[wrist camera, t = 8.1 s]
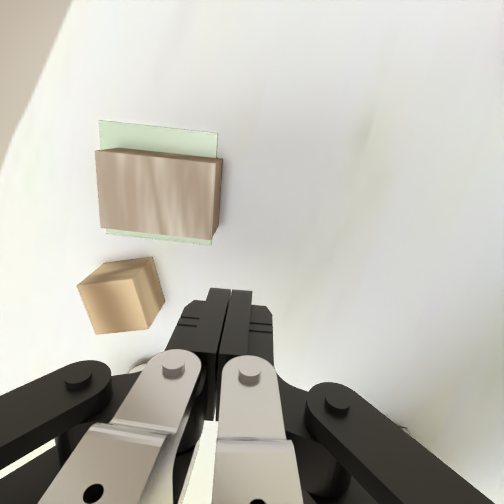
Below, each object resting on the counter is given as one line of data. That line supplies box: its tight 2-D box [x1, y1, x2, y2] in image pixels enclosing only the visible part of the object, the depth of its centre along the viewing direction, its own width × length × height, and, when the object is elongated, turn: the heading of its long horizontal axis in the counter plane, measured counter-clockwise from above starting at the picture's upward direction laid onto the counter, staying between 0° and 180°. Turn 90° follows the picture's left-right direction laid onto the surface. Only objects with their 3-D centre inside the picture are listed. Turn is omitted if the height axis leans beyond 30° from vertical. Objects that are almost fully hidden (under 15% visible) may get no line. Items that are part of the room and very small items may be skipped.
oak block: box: [77, 257, 165, 335], centre depth 30 cm, size 5×5×5 cm
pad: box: [99, 121, 218, 245], centre depth 29 cm, size 10×10×1 cm
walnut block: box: [95, 148, 223, 240], centre depth 27 cm, size 4×6×9 cm
